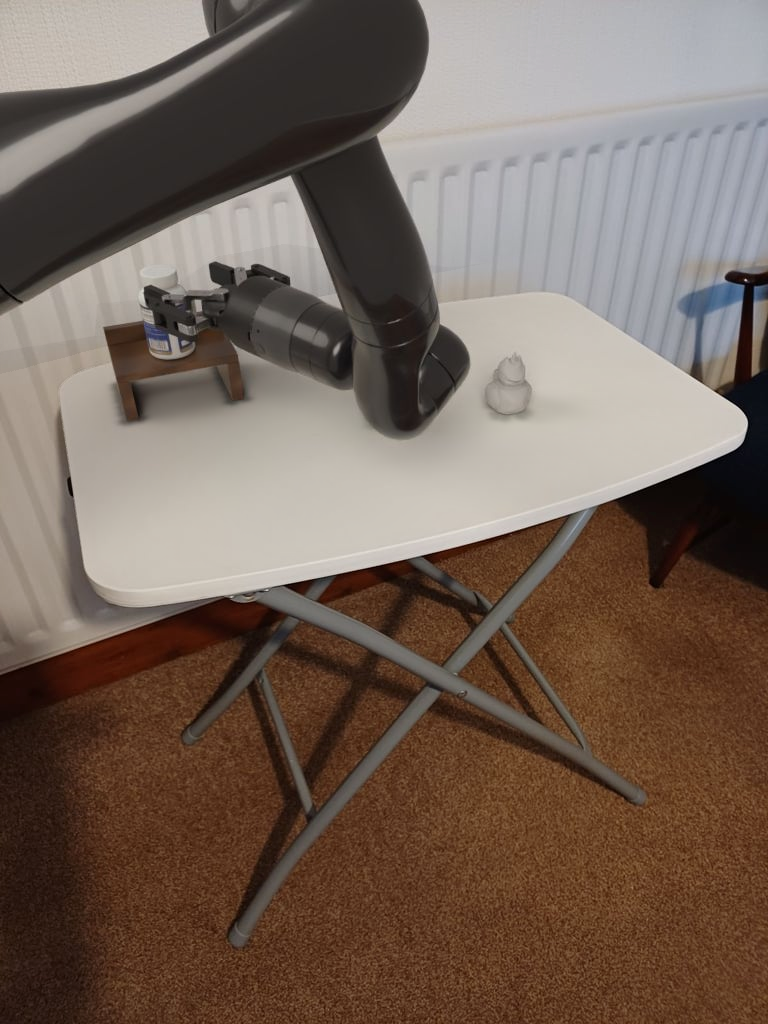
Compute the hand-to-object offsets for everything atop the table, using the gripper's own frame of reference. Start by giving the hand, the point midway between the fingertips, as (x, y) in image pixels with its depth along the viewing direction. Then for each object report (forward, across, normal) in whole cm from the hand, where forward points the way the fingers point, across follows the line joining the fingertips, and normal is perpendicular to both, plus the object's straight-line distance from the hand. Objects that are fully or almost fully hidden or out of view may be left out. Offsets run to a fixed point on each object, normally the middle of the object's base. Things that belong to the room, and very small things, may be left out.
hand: (180, 282), depth 85 cm
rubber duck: (-28, -24, +16) cm, 40 cm away
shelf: (+5, 0, +16) cm, 16 cm away
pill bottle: (+4, 0, +10) cm, 11 cm away
